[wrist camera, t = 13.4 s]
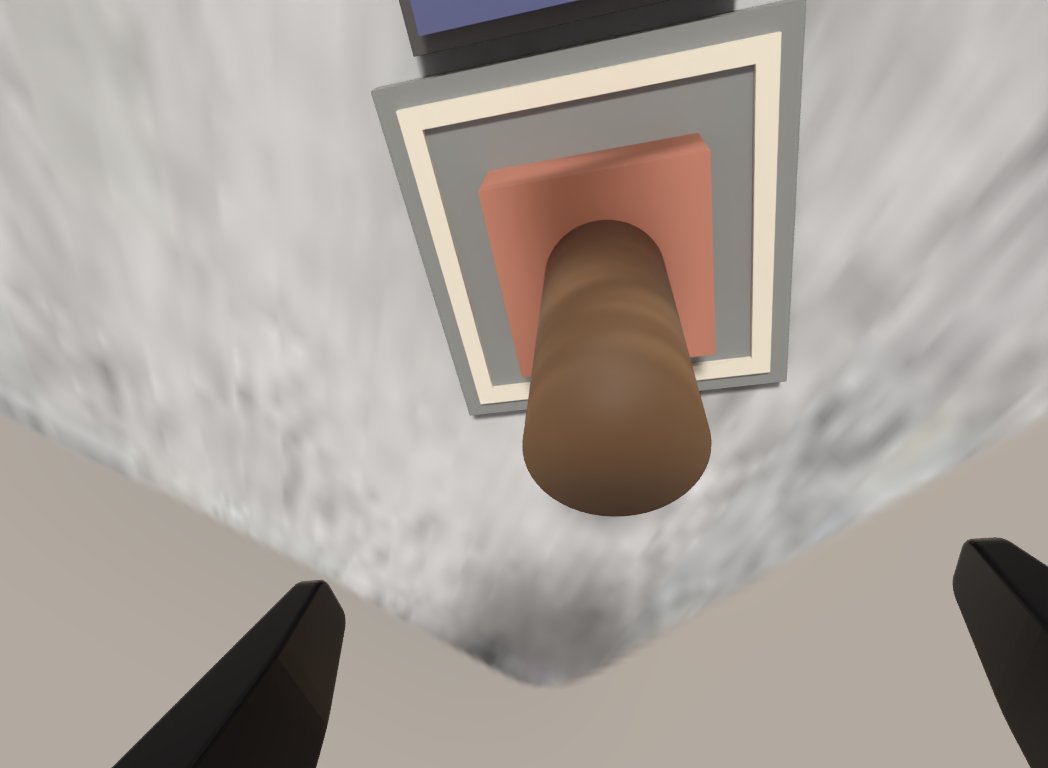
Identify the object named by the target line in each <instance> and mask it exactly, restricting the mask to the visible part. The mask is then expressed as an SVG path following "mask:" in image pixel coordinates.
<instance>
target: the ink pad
mask: <svg viewBox="0 0 1048 768" xmlns="http://www.w3.org/2000/svg"><path fill="white" fill-rule="evenodd" d="M664 1H668V0H399V2H400V6H401V10H402V14H403V18H404V21H405V25H406V29H407V33H408V37H409V40H410V44H411V48H412V52H413V56H414V57H415V56H419V55H424V54H429V53H433V52H438V51H442V50H447V49H451V48H456V47H460V46H465V45H469V44H474V43H478V42H483V41H487V40H492V39H496V38H501V37H505V36H510V35H514V34H519V33H523V32H528V31H532V30H537V29H542V28H546V27H551V26H555V25H560V24H564V23H569V22H573V21H578V20H582V19H587V18H591V17H596V16H600V15H605V14H609V13H614V12H618V11H623V10H627V9H632V8H636V7H641V6H645V5H650V4H655V3H659V2H664Z"/></svg>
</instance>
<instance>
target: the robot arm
mask: <svg viewBox="0 0 1048 768" xmlns="http://www.w3.org/2000/svg"><path fill="white" fill-rule="evenodd" d="M953 591H954V594H955V598H956V601H957V603H958V605H959V608H960V610H961V613H962V615H963V618H964V620H965V623H966V625H967V628H968V630H969V633H970V635H971V638H972V640H973V642H974V645H975V648H976V650H977V652H978V655H979V658H980V660H981V662H982V665H983V667H984V670H985V672H986V675H987V677H988V680H989V682H990V685H991V687H992V690H993V692H994V695H995V697H996V699H997V702H998V704H999V706H1000V708H1001V711H1002V713H1003V715H1004V717H1005V719H1006V721H1007V723H1008V725H1009V727H1010V729H1011V731H1012V733H1013V735H1014V737H1015V739H1016V741H1017V743H1018V744H1019V746H1020V748H1021V750H1022V752H1023V754H1024V756H1025V758H1026V760H1027V762H1028V764H1029V765H1030V767H1031V768H1048V566H1046V565H1045V564H1043V563H1042V562H1040V561H1039V560H1037V559H1036V558H1034V557H1033V556H1031V555H1030V554H1028V553H1027V552H1025V551H1023V550H1022V549H1020V548H1019V547H1018V546H1016V545H1014V544H1013V543H1011V542H1010V541H1008V540H1005V539H1003V538H995V537H994V538H979V539H969V540H967V541H966V542H965V543H964V544H963V546H962V550H961V553H960V556H959V560H958V563H957V566H956V570H955V573H954V576H953ZM344 631H345V614H344V611H343V609H342V607H341V605H340V603H339V602H338V600H337V598H336V596H335V595H334V593H333V591H332V590H331V588H330V586H329V585H328V584H327V582H325V581H323V580H313V581H302V582H300V583H297V584H296V585H295V586H294V587H292V589H290V590H289V591H288V592H287V593H286V594H285V595H284V597H282V598H281V599H280V600H279V602H277V603H276V604H275V605H274V606H273V607H272V608H271V609H270V610H269V611H268V612H267V613H266V614H265V615H264V617H262V618H261V619H260V620H259V621H258V622H257V623H256V624H255V626H253V627H252V628H251V629H250V630H249V631H248V632H247V633H246V634H245V635H244V636H243V637H242V638H241V639H240V640H239V641H238V642H237V643H236V644H235V645H234V646H233V647H232V648H231V649H230V650H229V651H228V652H227V653H226V654H225V655H224V657H222V658H221V659H220V660H219V661H218V663H216V664H215V665H214V666H213V667H212V668H211V669H210V670H209V671H208V672H207V673H206V674H205V675H204V676H203V677H202V678H201V679H200V680H199V681H198V682H197V683H196V684H195V685H194V686H193V687H192V688H191V689H190V690H189V691H188V692H187V693H186V694H185V695H184V696H183V697H182V698H181V699H180V700H179V701H178V702H177V703H176V704H175V705H174V706H173V707H172V708H171V709H170V710H169V711H168V712H167V713H166V714H165V715H164V716H163V717H162V718H161V719H160V720H159V721H158V722H157V723H156V724H155V725H154V726H153V727H152V728H151V729H150V730H149V731H148V732H147V733H146V734H145V735H144V736H143V737H142V738H141V739H140V740H139V741H138V742H137V743H136V744H135V745H134V746H133V747H132V748H131V749H130V750H129V751H128V752H127V753H126V754H125V755H124V756H123V757H122V758H121V759H120V760H119V761H118V762H117V763H116V764H115V765H114V766H113V767H112V768H316V766H317V762H318V759H319V755H320V751H321V748H322V744H323V740H324V736H325V732H326V729H327V724H328V720H329V715H330V710H331V705H332V699H333V693H334V687H335V682H336V676H337V670H338V665H339V659H340V654H341V648H342V642H343V637H344Z"/></svg>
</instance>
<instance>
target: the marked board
mask: <svg viewBox="0 0 1048 768" xmlns="http://www.w3.org/2000/svg"><path fill="white" fill-rule="evenodd" d="M805 13H806V0H784V1H780V2H775V3H770V4H766V5H761V6H756V7H752V8H747V9H742V10H738V11H733V12H728V13H724V14H719V15H714V16H710V17H705V18H700V19H696V20H691V21H686V22H682V23H677V24H672V25H668V26H663V27H658V28H654V29H649V30H644V31H640V32H635V33H630V34H626V35H621V36H616V37H612V38H607V39H602V40H597V41H593V42H588V43H583V44H579V45H574V46H569V47H565V48H560V49H555V50H551V51H546V52H541V53H537V54H532V55H527V56H523V57H518V58H513V59H509V60H504V61H499V62H495V63H490V64H485V65H481V66H476V67H471V68H467V69H462V70H457V71H453V72H448V73H443V74H439V75H434V76H429V77H425V78H420V79H415V80H411V81H406V82H401V83H397V84H392V85H387V86H383V87H378V88H375V89H374V90H372V91H371V94H372V97H373V100H374V104H375V107H376V110H377V114H378V117H379V120H380V123H381V127H382V130H383V133H384V136H385V140H386V143H387V146H388V149H389V153H390V156H391V159H392V163H393V166H394V169H395V172H396V176H397V179H398V182H399V185H400V189H401V192H402V195H403V199H404V202H405V205H406V208H407V212H408V215H409V218H410V221H411V225H412V228H413V231H414V234H415V238H416V241H417V244H418V248H419V251H420V254H421V257H422V261H423V264H424V267H425V270H426V274H427V277H428V280H429V284H430V287H431V290H432V293H433V297H434V300H435V303H436V306H437V310H438V313H439V316H440V320H441V323H442V326H443V329H444V333H445V336H446V339H447V342H448V346H449V349H450V352H451V355H452V359H453V362H454V365H455V369H456V372H457V375H458V378H459V382H460V385H461V388H462V391H463V395H464V398H465V401H466V405H467V408H468V411H469V414H470V415H480V414H489V413H498V412H507V411H517V410H526V409H527V404H528V397H529V389H530V382H531V376H529V377H522V375H521V371H520V366H519V362H518V358H517V354H516V350H515V345H514V341H513V337H512V333H511V329H510V324H509V320H508V316H507V312H506V307H505V303H504V299H503V295H502V291H501V286H500V282H499V278H498V274H497V270H496V265H495V261H494V257H493V253H492V249H491V244H490V240H489V236H488V232H487V227H486V223H485V219H484V215H483V211H482V206H481V202H480V198H479V194H478V191H479V189H480V187H481V184H482V182H483V180H484V178H485V176H486V174H487V172H488V171H491V170H497V169H502V168H508V167H513V166H519V165H524V164H529V163H535V162H540V161H546V160H551V159H557V158H562V157H568V156H573V155H579V154H584V153H590V152H595V151H601V150H606V149H612V148H617V147H623V146H628V145H634V144H639V143H644V142H650V141H655V140H661V139H666V138H672V137H677V136H683V135H688V134H694V133H699V134H700V136H701V137H702V139H703V140H704V142H705V143H706V145H707V146H708V148H709V149H710V150H711V185H712V224H713V263H714V302H715V341H716V354H714V355H706V356H697V357H690V359H691V363H692V366H693V370H694V374H695V377H696V381H697V385H698V389H699V391H701V390H711V389H720V388H729V387H738V386H748V385H757V384H766V383H775V382H785V381H786V379H787V360H788V341H789V321H790V302H791V283H792V263H793V244H794V225H795V206H796V186H797V167H798V148H799V128H800V109H801V90H802V71H803V51H804V32H805Z"/></svg>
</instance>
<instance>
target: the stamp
mask: <svg viewBox="0 0 1048 768" xmlns="http://www.w3.org/2000/svg"><path fill="white" fill-rule="evenodd" d="M478 194H479V198H480V202H481V206H482V211H483V215H484V219H485V223H486V227H487V232H488V236H489V240H490V244H491V249H492V253H493V257H494V261H495V265H496V270H497V274H498V278H499V282H500V286H501V291H502V295H503V299H504V303H505V307H506V312H507V316H508V320H509V324H510V329H511V333H512V337H513V341H514V345H515V350H516V354H517V358H518V362H519V366H520V371H521V375H522V377H529V376H531V382H530V389H529V397H528V404H527V412H526V420H525V427H524V435H523V456H524V460H525V463H526V466H527V469H528V471H529V473H530V474H531V476H532V478H533V479H534V480H535V482H536V483H537V484H538V485H539V487H540V488H541V489H542V490H543V491H544V492H546V493H547V494H548V495H549V496H551V497H552V498H553V499H555V500H557V501H558V502H560V503H562V504H564V505H566V506H568V507H570V508H573V509H575V510H578V511H581V512H585V513H589V514H594V515H601V516H630V515H637V514H642V513H647V512H650V511H653V510H656V509H659V508H661V507H664V506H666V505H668V504H670V503H672V502H673V501H675V500H677V499H678V498H680V497H681V496H683V495H684V494H685V493H687V492H688V491H689V490H690V489H691V488H692V487H693V486H694V485H695V484H696V482H697V481H698V480H699V479H700V477H701V476H702V474H703V472H704V471H705V469H706V466H707V464H708V462H709V458H710V454H711V434H710V429H709V426H708V422H707V418H706V414H705V411H704V407H703V403H702V400H701V396H700V392H699V389H698V385H697V381H696V377H695V374H694V370H693V366H692V363H691V359H690V357H697V356H706V355H714V354H716V341H715V302H714V263H713V224H712V185H711V150H710V149H709V148H708V146H707V145H706V143H705V142H704V140H703V139H702V137H701V136H700V134H699V133H694V134H688V135H683V136H677V137H672V138H666V139H661V140H655V141H650V142H644V143H639V144H634V145H628V146H623V147H617V148H612V149H606V150H601V151H595V152H590V153H584V154H579V155H573V156H568V157H562V158H557V159H551V160H546V161H540V162H535V163H529V164H524V165H519V166H513V167H508V168H502V169H497V170H491V171H488V172H487V174H486V176H485V178H484V180H483V182H482V184H481V187H480V189H479V191H478Z"/></svg>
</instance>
